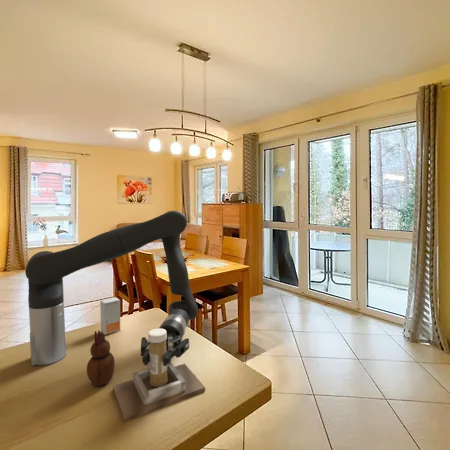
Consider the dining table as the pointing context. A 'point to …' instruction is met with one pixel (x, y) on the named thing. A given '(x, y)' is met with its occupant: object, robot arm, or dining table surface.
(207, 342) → the dining table surface
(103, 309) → the skincare box
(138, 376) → the board
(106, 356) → the wooden figurine
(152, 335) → the sprinkles bottle
